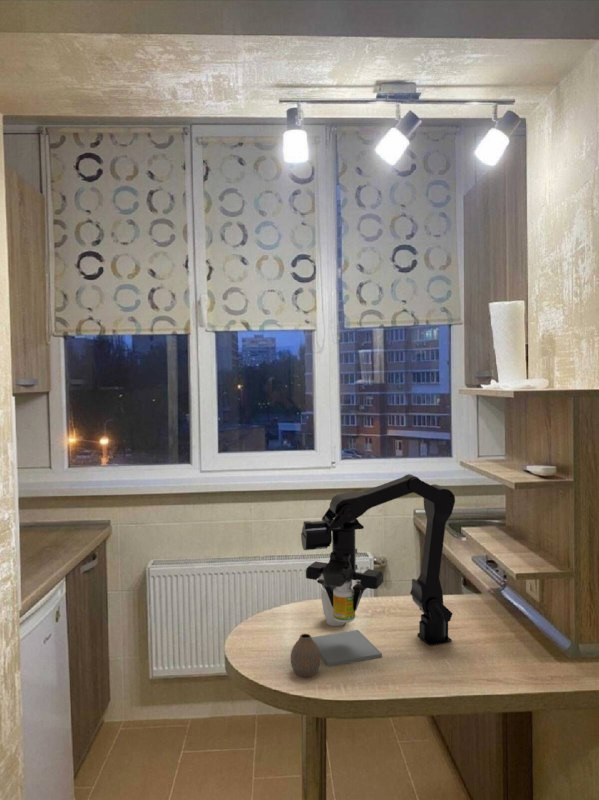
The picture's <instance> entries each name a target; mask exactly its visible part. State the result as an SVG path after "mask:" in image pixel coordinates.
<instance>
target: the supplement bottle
mask: <svg viewBox="0 0 599 800" xmlns="http://www.w3.org/2000/svg"><path fill="white" fill-rule="evenodd" d="M353 602H354V590H353V580H351V581H350V582H349V581H346V582H344V584H343V586H341V587H336V588H335V589H334V590H333V617H334V619H335V620H336V621H338V622H345V623H351V622H354V620H355V619H356V611H354V608H353Z"/></svg>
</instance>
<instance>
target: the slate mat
mask: <svg viewBox="0 0 599 800" xmlns="http://www.w3.org/2000/svg"><path fill="white" fill-rule="evenodd" d="M311 638H312V640H313V641H314V642H315V643H316V645H317V646H318V648H319V651H320V656H321V659H322V660H323V662H324V663H325V664H326V665H327V666H328V667H333V666H337V665H338V666H339V665H342V664H343V665H344V664H348V663H356V662H360V661H366V660H367V661H368V660H371V659H377V658H382V657H383V653H382V652H381V651H380V650H379V649H378V648H377V647H376V646H375V645H374V644H373V643H372V642H371V641H370V640H369V639H368V638H367V637H366V636H365V635H364V634H363V633H362V632H361V631H360V630H359V629H354V630H350V631H343V632H341V631H340V632H336V633H330V634H325V635H317V636H311Z"/></svg>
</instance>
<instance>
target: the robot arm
mask: <svg viewBox="0 0 599 800" xmlns="http://www.w3.org/2000/svg"><path fill="white" fill-rule="evenodd" d="M409 494H416V495H418V496H420V497H422V498H423V509H424V511H425V517H426V526H425V537H424V542H423V543H424V545H423V553H422V560H421V561H422V563H421V569H420V571H421V572H420V575H419V576H418V578H417V579H415V578H412V579H411V589H410V592H409V594H410V596H412V597H411V598H412V601H413V602H414V604H415V605H416V606H417V607H418V608H419V610H420V611H422V613H421V614H420V621H419V625H418V626H419V631H418V633H417V636H418V637H419V638H420V639H421V640H422V641H423V642H425V643H426V644H427V645H429V646H435V645H441V644H446V643H452V638H450V636H449V622H450V621H451V619H452V617H453V612H452V611H450V609H448V608H447V607H446V605H444V591H443V587H442V584H441V583H442V582H441V579H440V578H441V577H440V576H441V570H442V569H441V568H442V560H443V559H442V557H443V550H444V542H445V541H444V539H445V532H446V524H447V522H448V521H449V520H450V517H451V516H452V515H453V510H454V506H455V503H456V496H455V494H454V493H453V492H452V491H451V490H450V489H449V488H445V487H444V486H441V485H439V484H435V483H434V484H429V483H427V482H426V481H423V480H421V479H420V478H419V477H417V476H415V475H413V474H409V473H408V474H405V475H404V476H402V477H399V478H397V479H394V480H392V481H388V482H386V483H383V484H380V485H378V486H375V487H372V488H369V489H366V490H363V491H356V492H355V491H354V492H353V491H352V492H345V493H340V494H336V495H334V496H333V497H332V498H331V500H330V502H329V507H328V508H327V510H326V512H325V513H324V515H323V516H322V517H321V520H318V521H317V520H315V521H310V520H305V521H303V523H302V524H303V526H302V528H301V532H300V540H301V545H302V549H303V551H311V550H312V551H314V550H325V549H328V547H330V546H331V545H332V546H331V547H332V549H331V550H332V551H331V552H330V553H329V554H330V555H329V560H328V562H322V561H313V563H311V564H310V565H309V566H307V567H306V569H305V578H306V579H308V580H315V581H316V582H317V584H320V585H323V586H324V588H325V590H326V592H327V594H328V597H329V599H330V602H331V605H332V607H333V590H334V589H335V588H336V587H341V586H343V584H344V582H346V581H349V582H350V581H351V580H352V581H355V585H354V586H352V588H353V590H354V602H353V608H354V611H355V612H356V611H357V609H358V607H359V604H360V602H361V599H362V596H363V594H364V592H365V590H367V589H372V590H376V589H378V588H380V586H381V585H382V584H383V583H384V574H383V572H382V571H381V570H376V569H370V568H367V569H366V570H365V571H364V572H358V571H357V570H358V564H357V563H356V561H357V560H356V559H357V558H356V557H357V556H356V554H357V553H358V548H356V530H363V529H364V528H365V527H364V525H362V523H360V521H359V520H358V518H360V517H361V516H363V515H364V514H366V512H368V511H369V510H371V509H372V508H375V507H377V506H381V505H383V504H385V503H388V502H391V501H394V500H395V499H396V500H397V499H399V498H403V497H404V496H407V495H409Z"/></svg>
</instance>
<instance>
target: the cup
mask: <svg viewBox="0 0 599 800" xmlns="http://www.w3.org/2000/svg"><path fill="white" fill-rule="evenodd" d="M320 593H321V604H322V611H323V615H324V618H325V621H326V624H327V625H329V626H331V627H342V626H343V625H345V623H346V622H338V621H336V620H335V619H334V617H333V607H332V605H331V602H330V599H329V597H328V594H327V592H326V590H325V588H324V586H323V585H322V584H320Z"/></svg>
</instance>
